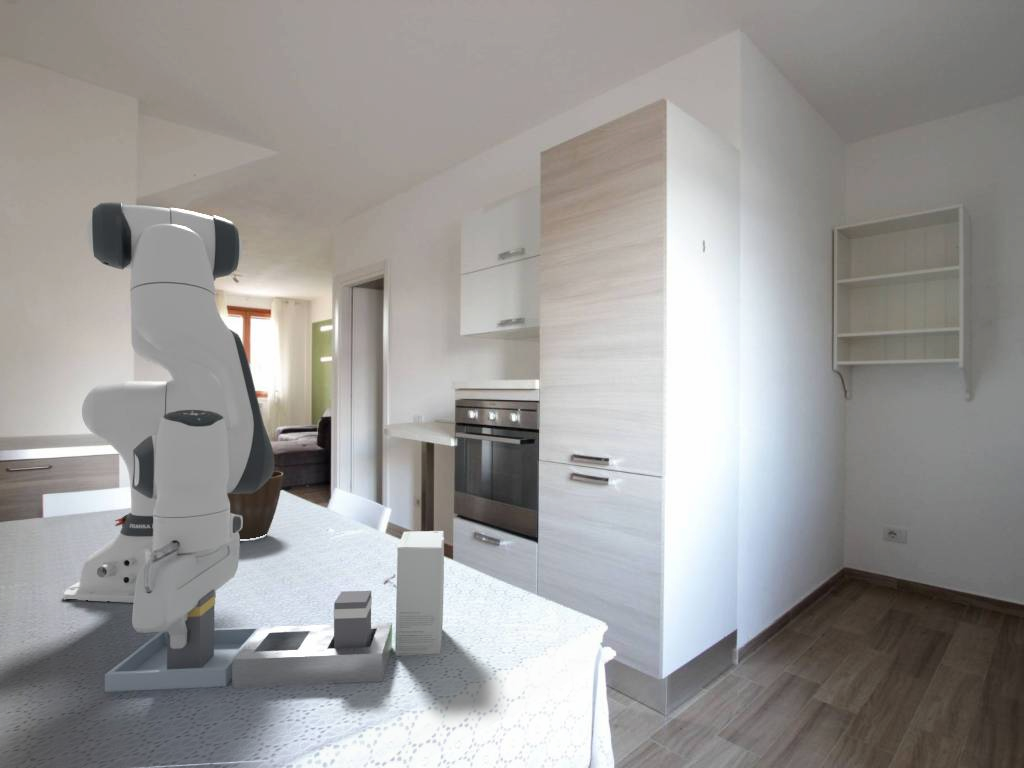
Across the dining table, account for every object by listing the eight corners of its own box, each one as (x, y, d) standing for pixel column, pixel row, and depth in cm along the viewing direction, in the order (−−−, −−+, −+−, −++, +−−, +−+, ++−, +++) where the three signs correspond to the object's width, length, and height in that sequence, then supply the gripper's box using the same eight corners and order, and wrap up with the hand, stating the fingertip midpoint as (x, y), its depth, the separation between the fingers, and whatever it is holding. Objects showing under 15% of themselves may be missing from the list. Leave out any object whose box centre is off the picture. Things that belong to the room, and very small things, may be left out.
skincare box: (401, 632, 81) (402, 530, 81) (445, 631, 81) (445, 529, 82) (394, 660, 73) (394, 546, 73) (442, 658, 73) (443, 545, 73)
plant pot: (294, 535, 137) (295, 473, 137) (239, 549, 124) (239, 481, 125) (261, 527, 145) (261, 469, 145) (205, 540, 132) (206, 476, 133)
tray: (104, 696, 64) (104, 674, 64) (161, 648, 76) (161, 630, 76) (225, 690, 65) (225, 669, 65) (262, 644, 77) (262, 626, 77)
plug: (166, 672, 68) (167, 601, 68) (183, 656, 72) (183, 590, 72) (199, 670, 69) (200, 600, 69) (214, 655, 73) (215, 589, 73)
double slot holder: (232, 692, 65) (232, 659, 65) (260, 656, 74) (260, 627, 74) (381, 685, 66) (382, 653, 66) (391, 650, 75) (391, 622, 75)
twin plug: (333, 673, 68) (333, 603, 68) (340, 657, 72) (341, 591, 72) (365, 672, 68) (366, 602, 69) (371, 656, 73) (371, 590, 73)
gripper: (174, 555, 61) (173, 676, 60) (247, 514, 81) (246, 605, 81) (116, 556, 60) (114, 679, 60) (204, 515, 80) (203, 606, 80)
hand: (191, 636), depth 70 cm, fingers closed on plug, 4 cm apart
